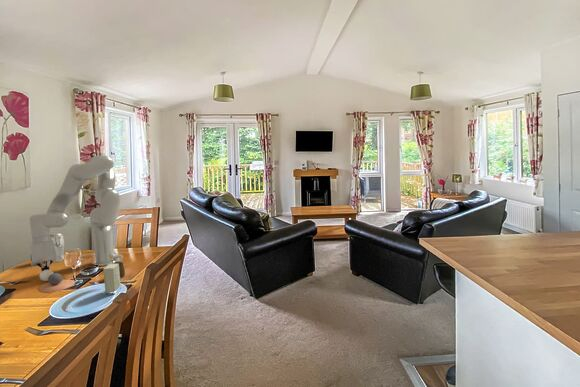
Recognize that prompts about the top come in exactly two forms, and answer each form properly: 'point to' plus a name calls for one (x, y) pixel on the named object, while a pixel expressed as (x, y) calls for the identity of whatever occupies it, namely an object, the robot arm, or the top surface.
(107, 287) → the skincare box
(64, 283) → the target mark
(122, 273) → the utensil holder
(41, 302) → the top surface
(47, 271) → the cue ball
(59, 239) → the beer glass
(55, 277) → the object ball
